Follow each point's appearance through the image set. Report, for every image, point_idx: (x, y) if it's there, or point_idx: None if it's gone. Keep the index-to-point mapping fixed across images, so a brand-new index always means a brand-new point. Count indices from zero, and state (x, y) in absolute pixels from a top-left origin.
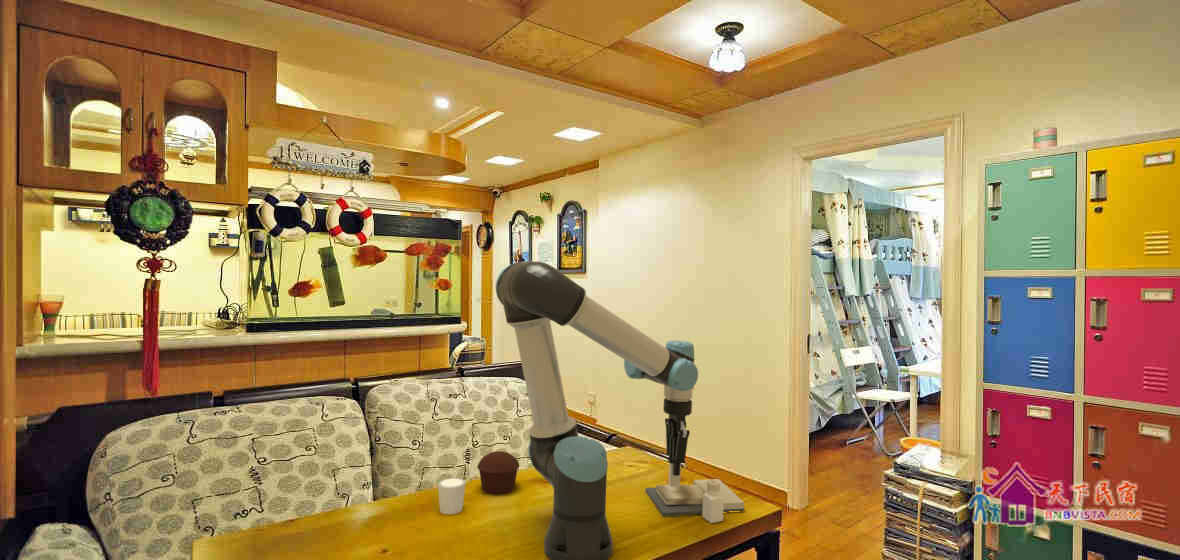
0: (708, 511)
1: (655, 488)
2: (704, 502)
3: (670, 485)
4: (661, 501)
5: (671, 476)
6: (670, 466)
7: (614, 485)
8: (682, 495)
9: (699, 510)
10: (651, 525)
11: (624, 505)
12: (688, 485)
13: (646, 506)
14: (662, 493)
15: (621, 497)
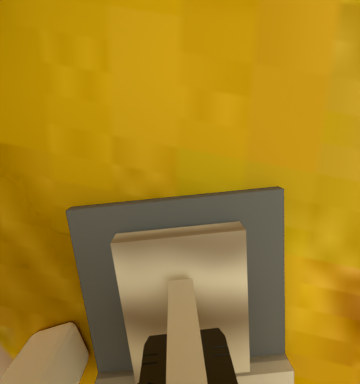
0: (23, 355)
1: (275, 225)
2: (33, 367)
3: (168, 285)
4: (160, 223)
5: (168, 316)
6: (180, 356)
7: (351, 73)
8: (148, 305)
9: (92, 326)
10: (6, 155)
11: (162, 84)
12: (243, 344)
13: (153, 166)
14: (162, 237)
15: (234, 84)
